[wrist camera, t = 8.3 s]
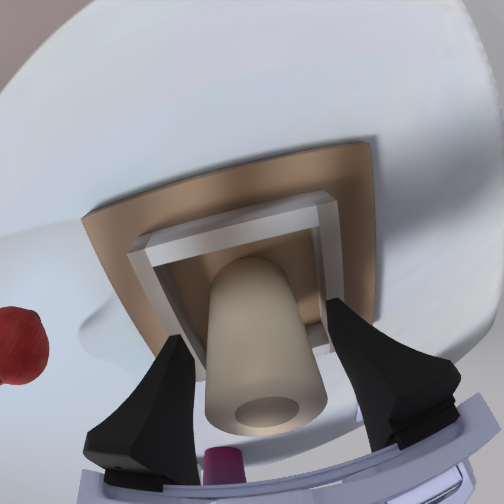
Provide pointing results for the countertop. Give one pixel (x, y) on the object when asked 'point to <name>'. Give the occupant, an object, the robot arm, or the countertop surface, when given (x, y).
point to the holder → (244, 241)
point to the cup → (223, 466)
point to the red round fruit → (21, 346)
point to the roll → (258, 353)
